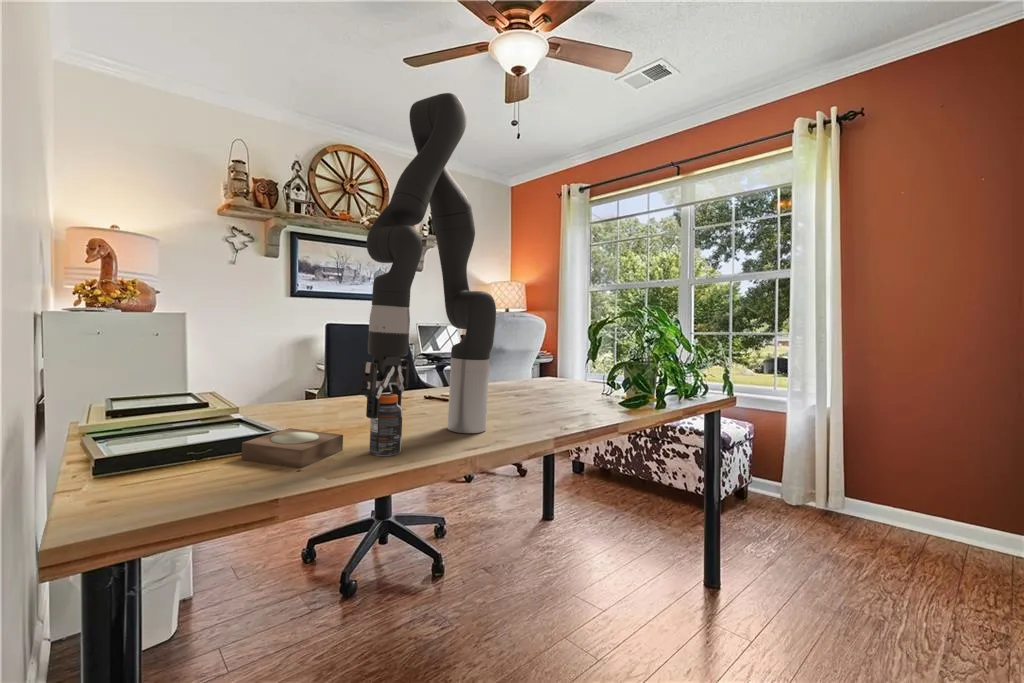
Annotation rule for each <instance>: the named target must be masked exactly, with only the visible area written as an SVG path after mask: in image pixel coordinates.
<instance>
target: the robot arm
mask: <svg viewBox="0 0 1024 683" xmlns="http://www.w3.org/2000/svg"><path fill="white" fill-rule="evenodd" d="M409 124H410V130H411V135H412V138H413V142H414V146H415V150H416V152H417V154H416V155H415V156H414V158H413V159H412V160H411V161H410V162H409V163H408V165H407V166H406V167H405V168H404V170H403V172H402V173H401V175H400V176H399V178H398V180H397V183H396V185H395V187H394V190H393V193H392V196H391V199H390V201H389V203H388V204H387V205H386V207H385V208H384V209H383V210H382V211H381V213H380V214H379V215H378V217H377V219H375V221H374V222H373V223H372V225H371V227H370V229H369V230H368V234H367V236H366V237H367V238H366V244H365V245H366V250H367V253H368V255H369V256H370V258H371V259H372V260H374V261H375V262H377V263H379V264H380V263H381V264H392V265H391V266H390V268H389V271H388V272H386V273H384V274H379V275H378V276H376V277H374V279H373V284H372V293H371V294H372V295H371V297H372V298H371V309H370V313H369V320H368V339H367V353H368V354H369V355H372V356H373V359H372V361H371V362H370V361H363V362H362V364H361V375H360V382H359V383H360V384H359V385H360V386H359V395H360V396H364V397H366V410H365V411H366V412H365V414H366V418H367V419H371V418H372V419H376V418H378V417H379V406H380V398H379V397H380V395H381V394H383V393H382V392H383V390H384V389H387V387H388V386H389V390H390V392H389V394H397V395H398V405H399V406H401V407H402V394H403V393H404V391H405V389H408V388H409V380H410V378H409V373H410V360H409V359H406V358H402V357H406V356H408V354H409V344H410V343H409V341H410V329H411V328H410V326H411V315H410V306H411V289H412V284H413V281H414V278H415V275H416V272H417V269H418V267H419V264H420V261H421V258H422V254H423V241H422V236H421V234H420V232H419V231H418V230H417V228H415V226H416V225H419V224H420V223H422V221H423V220H424V218H425V215H426V213H427V209H428V206H429V208H430V215H431V220H432V225H433V230H434V235H435V240H436V243H437V244H436V245H437V250H438V254H439V255H438V256H439V262H440V263H439V264H440V269H441V275H442V285H443V296H444V308H445V313H446V317H447V319H448V321H449V324H451V326H452V327H454V328H456V329H459V330H465V334H464V336H465V337H464V338H463V339H462V340H460V342H458V343H456V344H453V345H452V347H451V348H450V350H451V352H450V353H451V354H450V369H449V370H450V372H449V374H450V375H449V389H448V390H449V391H448V393H449V394H448V410H447V411H448V412H447V430H448V431H451V432H454V433H457V434H458V433H459V434H479V433H483V432H485V431H486V429H487V414H488V394H489V393H488V391H489V375H490V374H489V373H490V355H491V352H492V348H493V346H494V341H495V331H496V322H497V321H496V319H497V318H496V317H497V306H496V302H495V299H494V297H493V296H492V294H490V293H489V292H488V291H481V290H472V291H471V290H470V286H469V282H468V274H467V269H468V263H469V262H468V261H469V258H470V256H471V252H472V249H473V246H474V242H475V237H476V227H475V222H474V221H475V219H474V215H473V214H474V213H473V211H472V210H473V209H472V204H471V202H470V200H469V197H468V196H467V194H466V193H465V191H464V190H463V188H462V187H461V186H460V185H459V184H458V183H457V181H456V180H455V179H454V177H453V176H452V174H451V172H450V171H449V169H448V167H447V163H448V162H449V160H450V159H451V157H452V155H453V153H454V151H455V149H456V147H457V146H458V145H459V142H461V139H462V137H463V136H464V133H465V130H466V127H467V113H466V109H465V106H464V104H463V102H462V101H461V99H460V98H459V97H458V96H457V95H456V94H454V93H452V92H451V93H450V92H445V93H444V92H443V93H439V94H438V93H437V94H436V95H432V96H429V97H426V98H423V99H420V100H417V101H415V102H414V103H413V104H411V106H410V110H409Z"/></svg>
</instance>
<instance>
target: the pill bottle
mask: <svg viewBox="0 0 1024 683" xmlns="http://www.w3.org/2000/svg"><path fill="white" fill-rule="evenodd" d="M379 398H380V406H379V417H378V418H376V419H372V418H370V427H369V428H370V430H369V454H371V455H374V456H377V457H378V456H379V457H389V456H390V457H391V456H396V455H398V454H400V453H401V451H402V438H403V437H402V434H403V411H404V410H403V408H402V405H401V406H399V405H398V395H397V394H390V393H381V395H380V397H379Z"/></svg>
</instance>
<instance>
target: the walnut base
mask: <svg viewBox="0 0 1024 683" xmlns="http://www.w3.org/2000/svg"><path fill="white" fill-rule="evenodd" d="M343 444H344V434H340V433H339V434H338V433H331V432H325V431H314V430H309V429H307V430H306V429H298V428H285V429H281V430H280V431H276V432H272V433H269V434H266V435H263V436H259V437H256V438H253V439H250V440H246V441H243V442H241V460H243V461H248V462H256V463H264V464H269V465H278V466H286V467H290V468H296V469H297V468H299V469H302V468H304V467H305V468H306V467H307V466H309V465H311V464H313V463H316V462H318V461H321V460H323V459H325V458H328V457H331V456H332V455H334V454H337V453H339V452H342V451H344V450H343V449H344V446H343Z"/></svg>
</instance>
